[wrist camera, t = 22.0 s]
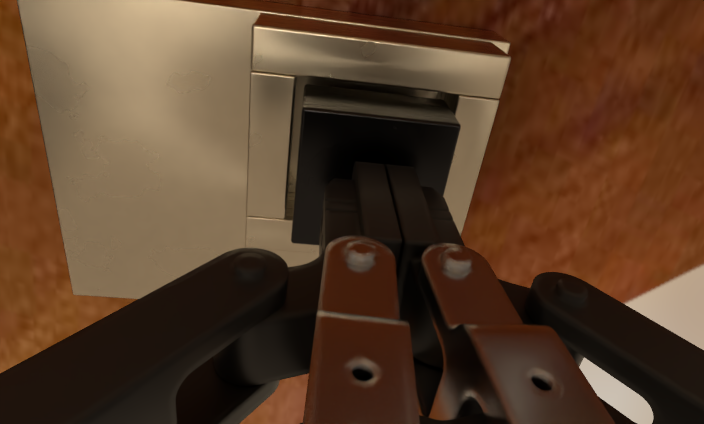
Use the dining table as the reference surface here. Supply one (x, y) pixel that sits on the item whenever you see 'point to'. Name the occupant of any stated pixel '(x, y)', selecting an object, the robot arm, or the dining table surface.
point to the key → (366, 144)
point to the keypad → (220, 121)
